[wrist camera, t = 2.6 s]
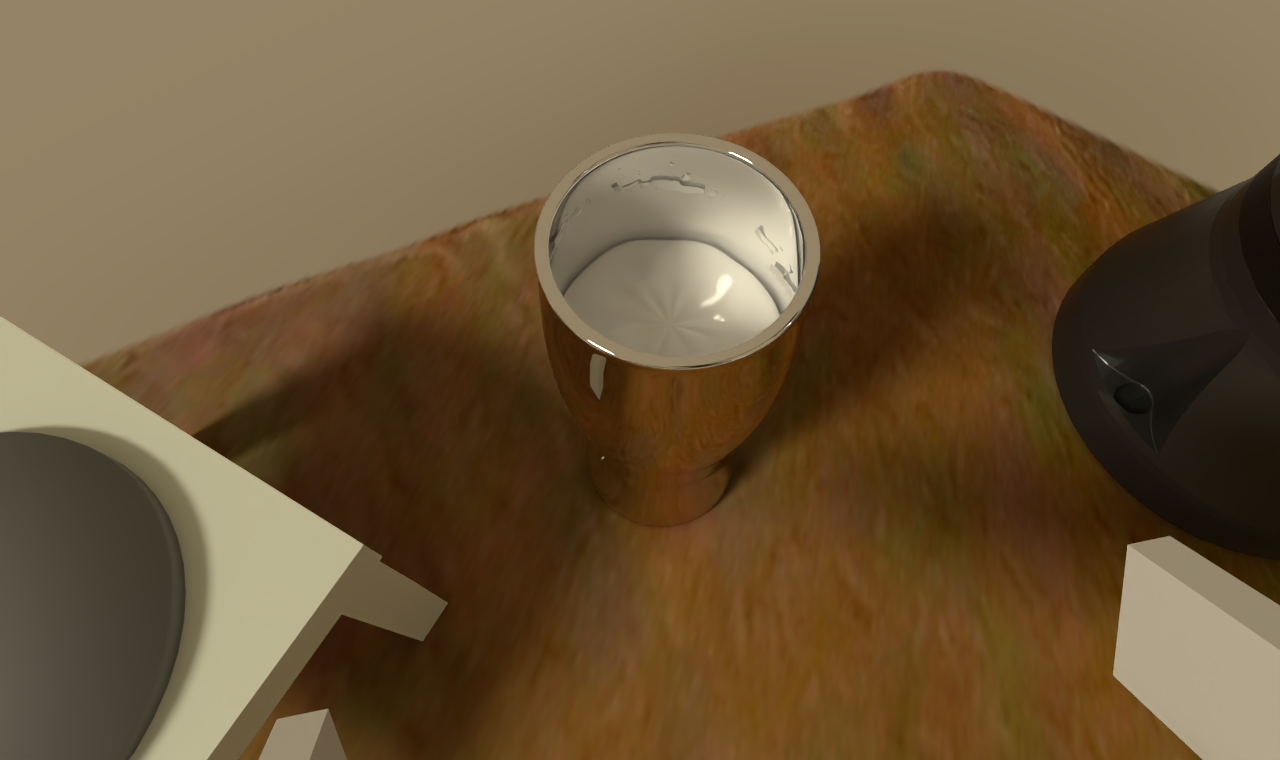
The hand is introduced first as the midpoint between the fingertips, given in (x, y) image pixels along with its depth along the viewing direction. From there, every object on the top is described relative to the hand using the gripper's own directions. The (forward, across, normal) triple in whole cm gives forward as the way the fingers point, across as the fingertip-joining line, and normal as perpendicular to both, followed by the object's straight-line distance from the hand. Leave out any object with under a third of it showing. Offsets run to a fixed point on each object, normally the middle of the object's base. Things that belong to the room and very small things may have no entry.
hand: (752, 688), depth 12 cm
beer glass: (+18, +1, -4) cm, 18 cm away
